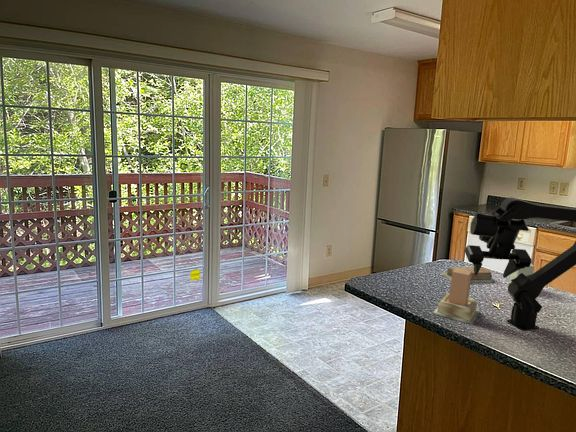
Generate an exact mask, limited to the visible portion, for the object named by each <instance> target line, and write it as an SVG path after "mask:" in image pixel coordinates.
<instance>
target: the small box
mask: <svg viewBox="0 0 576 432" xmlns="http://www.w3.org/2000/svg"><path fill="white" fill-rule="evenodd" d="M534 271H535V265H533V264H532V263H531V265H530V266H529V267H525V268H524V269H520V270H518V271H516V272H514V273H512V274H510V275H509V282H508V285H509V284H510V283H511V282H512V281H511V280H512V279H515V278H516V277H517V276H518V275H519V274H521V273H523V274H524V275H525V276H528V275H531V274H533V273H535V272H534Z"/></svg>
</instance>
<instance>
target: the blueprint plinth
mask: <svg viewBox="0 0 576 432" xmlns="http://www.w3.org/2000/svg"><path fill="white" fill-rule="evenodd" d="M449 294H450V293H446V295H444V297H443V298H441V300H440V301H439V302H438V304H437V307H436V308H435V309H434V311H433V312H432V315H434V316H435V315H436V316H439V317H442V318H447V319H450V320H454V321H458V322H461V323H464V324H465V323H466V324H470V325H473V324H474V322H475V321H476V319H477V317H478V316H479V314H480V313H481V310H480V309H477V307H478V302H477V300H476V299H474V298H470V297H469V299H468V304H467V305H466V307H465V306H461V305H457V304H453V303H449Z"/></svg>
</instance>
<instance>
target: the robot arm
mask: <svg viewBox="0 0 576 432" xmlns="http://www.w3.org/2000/svg"><path fill="white" fill-rule="evenodd" d="M536 218H538V219H546V220H547V219H548V220H555V221H556V220H557V221H563V222H564V221H566V222H573V223H575V224H576V208H575V207H565V206H556V205H546V204H537V203H533V202H529V201H528V200H527V201H526V200H523V199H520V198H517V197H516V198H515V197H512V196H511V197H510V196H509V197H506V198H505V199H503V200H502V201H501V204H500V206H499V207H498V208H497V209H496V210H494V211H493V212H492V213H491V214H485V213H482V212H478V211H477V212H475V214H474V216H473V217H472V220H471V222H470V227H469V228H470V229H469V230H470V231H469V233H470V234H471V235H472V236H478V239H479V241H481V242H483V243H486V249H489V250H488V251H487V250H482V248H481V246H480V245H471V244H470V245H469V244H468V245H467V246H466V247H465V249H464V253H465V256H466V258H467V260H468V262H469V263H470V264H472V265H473V267H474V274H475V275H477V274H478V272H479V270H480V268H481V267H483V262H484V259H490V260H491V259H493V260H507V261H508V262H507V264H506V266H505V269H504V270H503V273H502V277H503V278H504V279H505V278H507V277H508V276H509V277H510V274H512V273H514V272H516V271H518V270H520V269H524V268H525V267H529V266H530V265H531V264H532V263H533V260H532V258H531V256H530V255H529V253H528V251H527V250H526V249H521V248H520V249H519V248H516V246H515V243H516V240H517V238H518V236H519V233H520V231H526V232H528V231H529V227H528V225H527V223H526V221H525V220H528V219H529V220H530V219H536ZM575 266H576V240H575V241H574V243H573V244H572V246H570V247H569V248H567V249H566V250H564V251H563V252H561V253H560V254H559V255H557V256H556V257H555V258H553V259H551V261H549V262H547V264H544V265H543V266H542V267H540V268H539V269H538V270H536V271H535V272H534V273H533V274H531V275H528V276H525V275H524V274H523V273H521V274H519V275H518V276H517V277H516V278H515V279H512V280H511V281H512V282H511V283H510V284H509V283H508V285H507V293H508V294H509V296H510V297H511V298H512V301H513V305H512V306H511V314H510V319H506V322H508V323H509V324H511V325H512V326H514V327H516V328H517V329H519V330H521V331H529V330H530V331H531V330H536V329H537V330H538V329H539V328H540V326H538V325H537V324H536V323H537V317H538V313H540V312H541V310H542V309H543V306H542V305H541V304H540V302H539V301H538V300H537V298H538V297H540V295H541V293H542V291H543V289H544V288H545V287H546V286H547V285H549V284H550V283H552V282H553V281H555V280H556V279H558V278H559V277H560V276H562V275H563V274H565V273H567V272H568V271H569V270H571V269H572V268H574V267H575Z"/></svg>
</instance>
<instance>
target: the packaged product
mask: <svg viewBox="0 0 576 432" xmlns="http://www.w3.org/2000/svg"><path fill="white" fill-rule="evenodd" d="M455 268H459V269H464V270H469V271H472V277H471V284H481V283H482V284H483V283H484V284H485V283H489V284H490V283H491V284H492V283H495V282H496V281H495V280H494V279H493V276H492V271H490V270H489V269H487V268H485V267H483V266H481V268H480V270H479V272H478V274H477V275H475V274H474V266H461V267H460V266H455V267H454V266H451V267H447V271H446V272H443V271H442V272H441V277H444V278H445V279H446V280H448V281H450V282H451V279H452V271H453V270H454V269H455Z"/></svg>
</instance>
